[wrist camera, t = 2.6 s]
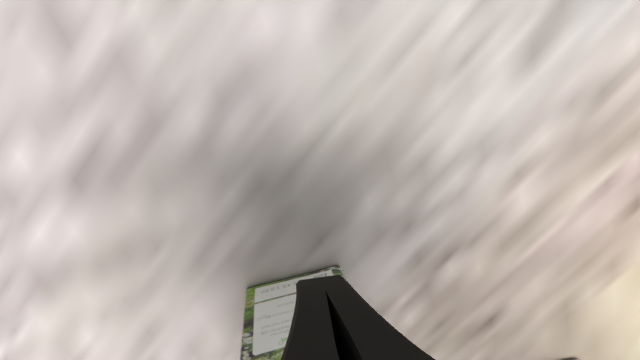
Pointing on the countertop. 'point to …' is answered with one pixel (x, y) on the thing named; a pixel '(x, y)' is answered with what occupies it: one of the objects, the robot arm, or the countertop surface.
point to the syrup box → (272, 316)
